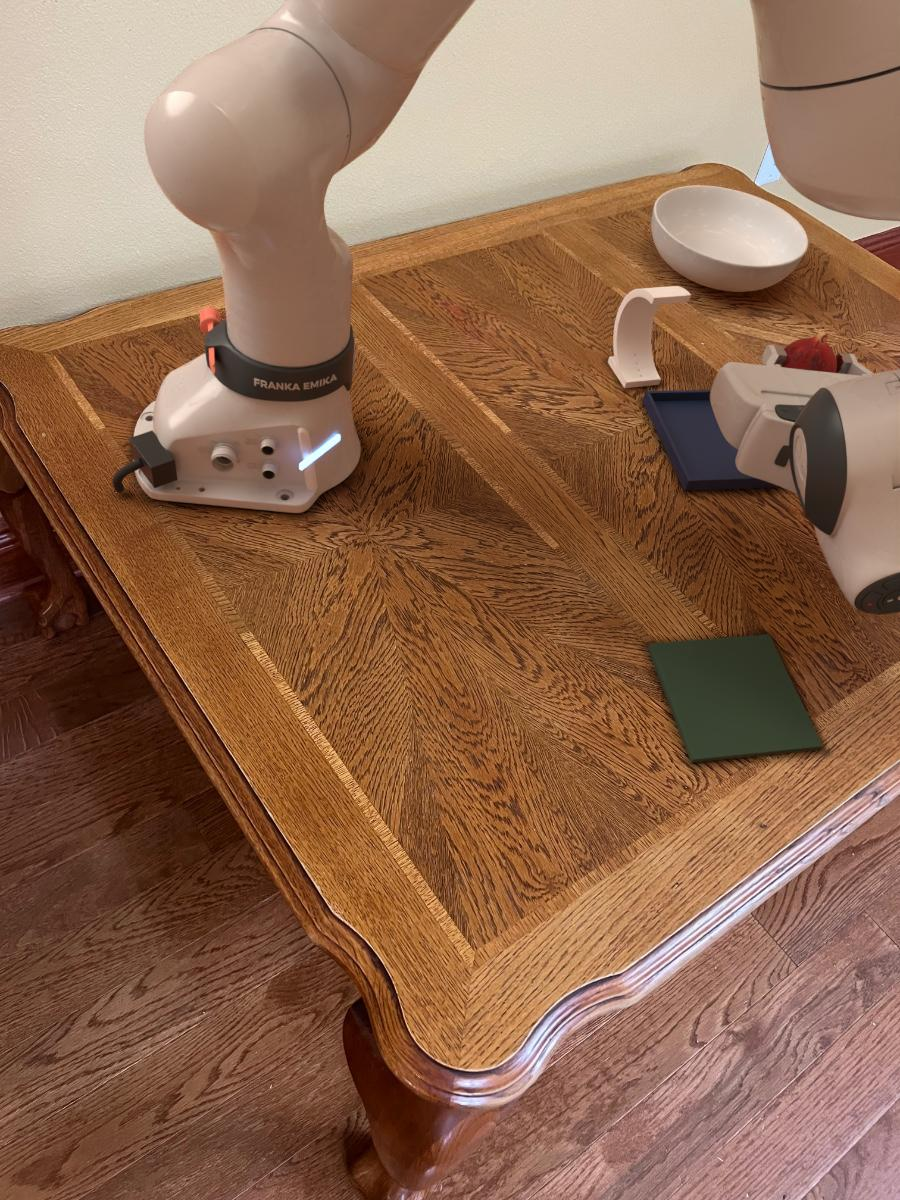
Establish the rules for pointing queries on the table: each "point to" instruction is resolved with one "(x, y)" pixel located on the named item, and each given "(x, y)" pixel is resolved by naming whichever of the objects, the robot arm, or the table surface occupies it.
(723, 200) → the serving bowl
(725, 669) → the dark green mat
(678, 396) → the tray
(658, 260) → the table surface
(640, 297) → the headphone stand
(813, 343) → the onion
